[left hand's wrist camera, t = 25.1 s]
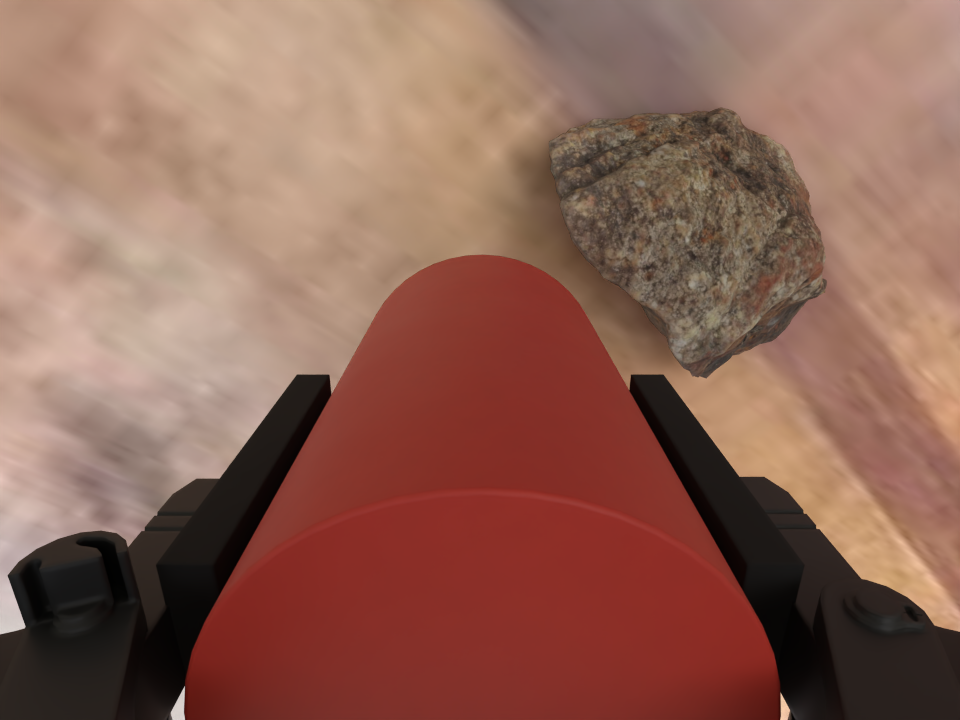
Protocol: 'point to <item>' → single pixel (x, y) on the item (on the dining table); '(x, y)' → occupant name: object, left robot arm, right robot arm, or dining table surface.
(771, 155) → the rock
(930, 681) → the left robot arm
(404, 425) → the can
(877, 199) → the dining table surface
